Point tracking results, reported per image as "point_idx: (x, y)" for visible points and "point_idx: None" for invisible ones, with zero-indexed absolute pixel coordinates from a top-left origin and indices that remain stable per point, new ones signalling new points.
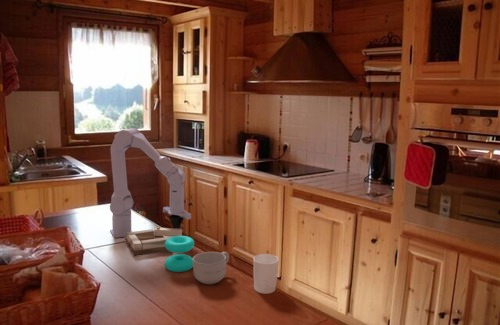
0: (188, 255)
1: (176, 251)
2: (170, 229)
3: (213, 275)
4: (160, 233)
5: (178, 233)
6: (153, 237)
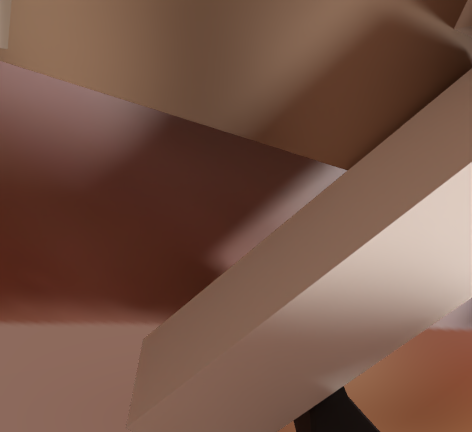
0: None
1: None
2: (324, 334)
3: None
4: (419, 144)
5: (158, 362)
6: (451, 4)
